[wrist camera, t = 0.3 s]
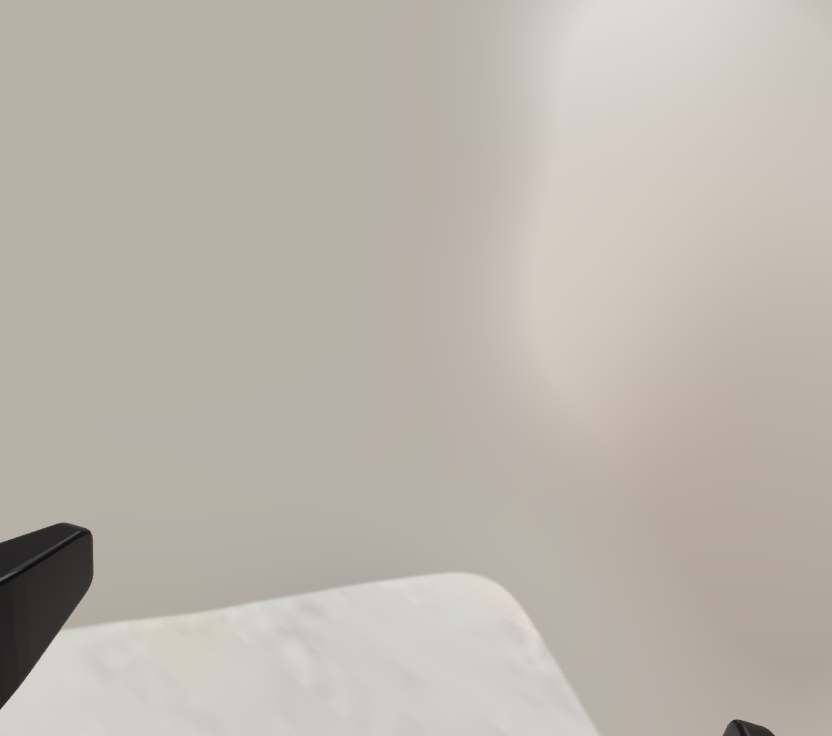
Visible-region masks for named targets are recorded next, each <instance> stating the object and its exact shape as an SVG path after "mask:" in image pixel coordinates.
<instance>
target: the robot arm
mask: <svg viewBox="0 0 832 736" xmlns="http://www.w3.org/2000/svg"><path fill="white" fill-rule="evenodd" d="M92 579H93V537H92V534H91V532H90V531H89V530H88V529H86V528H83V527H80V526H77V525H73V524H69V523H59V524H55V525H53V526H50V527H46V528H43V529H40V530H37V531H34V532H31V533H28V534H25V535H22V536H20V537H16V538H14V539H11V540H8V541H5V542H2V543H0V709H1V708H2V707H3V706H4V705H5V703H6V702H7V701H8V700H9V699H10V697H11V696H12V695H13V694H14V693H15V691H16V690H17V689H18V688H19V686H20V685H21V684H22V682H23V681H24V680H25V678H26V677H27V676H28V674H29V673H30V672H31V670H32V669H33V668H34V666H35V665H36V663H37V662H38V660H39V659H40V658H41V656H42V655H43V653H44V652H45V651H46V649H47V648H48V646H49V645H50V643H51V642H52V641H53V639H54V638H55V636H56V635H57V634H58V632H59V631H60V629H61V628H62V626H63V625H64V623H65V622H66V621H67V619H68V618H69V616H70V615H71V614H72V612H73V611H74V609H75V608H76V607H77V605H78V604H79V602H80V601H81V600H82V598H83V597H84V595H85V594H86V592H87V591H88V589H89V587H90V585H91V582H92ZM723 736H774V734H772V732H771V731H769V730H768V729H767V728H765V727H762V726H759V725H755V724H752V723H749V722H746V721H742V720H733V721H731V722H730V723H729V725H728V726H727V728H726V730H725V732H724V734H723Z"/></svg>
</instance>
